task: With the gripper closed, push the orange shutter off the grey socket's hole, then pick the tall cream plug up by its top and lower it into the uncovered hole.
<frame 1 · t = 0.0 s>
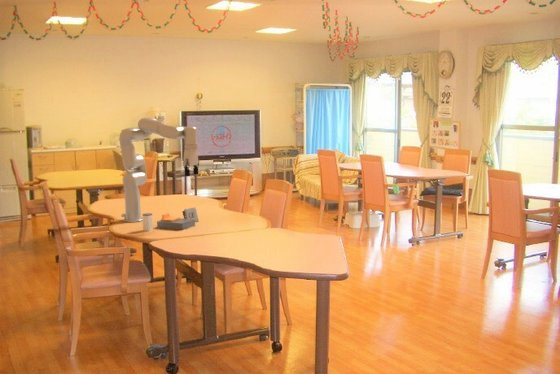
hand: (191, 175, 372), 31 cm above the table, tool pointing down, fingers open, 9 cm apart
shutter: (170, 217, 372), point 6 cm above the table, slide at 0.0 cm
plug: (148, 230, 362), on the table
socket housing: (176, 226, 371), on the table
electrical switch: (190, 222, 386), on the table
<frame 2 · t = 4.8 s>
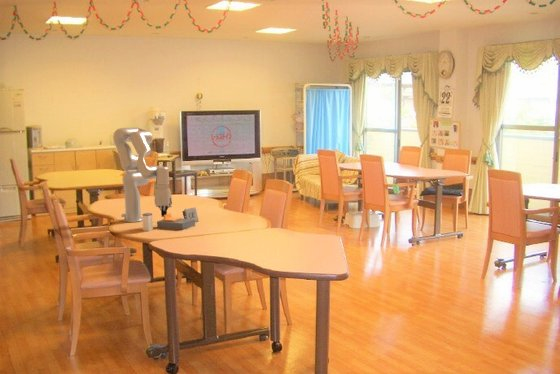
hand: (164, 216, 374), 6 cm above the table, tool pointing down, fingers closed
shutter: (172, 217, 372), point 6 cm above the table, slide at 1.2 cm, touching gripper
everything else where it was.
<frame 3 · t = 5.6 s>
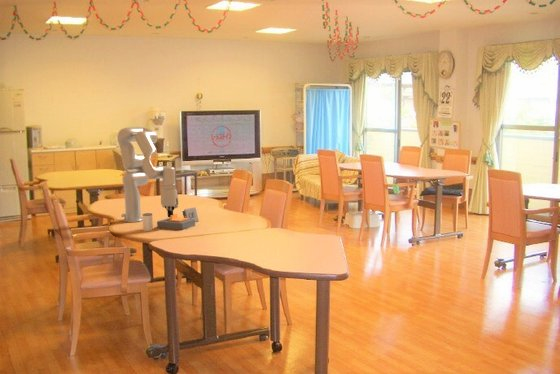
hand: (170, 216, 372), 6 cm above the table, tool pointing down, fingers closed
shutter: (178, 217, 370), point 6 cm above the table, slide at 5.8 cm, touching gripper
everything else where it was.
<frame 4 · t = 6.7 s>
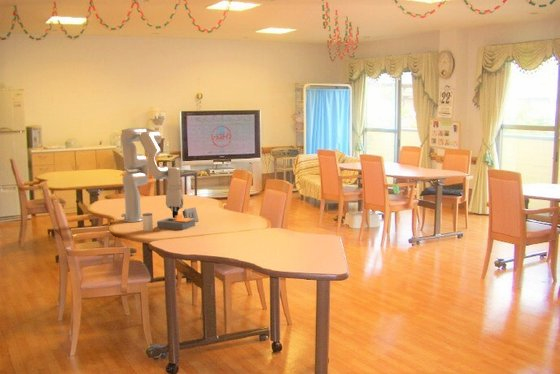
hand: (175, 217, 371), 6 cm above the table, tool pointing down, fingers closed
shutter: (183, 218, 368), point 6 cm above the table, slide at 9.3 cm, touching gripper
everything else where it was.
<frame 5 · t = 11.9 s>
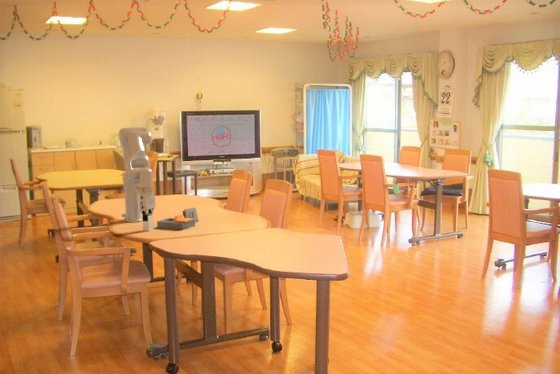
hand: (147, 220, 361), 6 cm above the table, tool pointing down, fingers closed on plug, 4 cm apart
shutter: (183, 218, 368), point 6 cm above the table, slide at 9.3 cm
plug: (148, 230, 362), on the table, touching gripper
everything else where it was.
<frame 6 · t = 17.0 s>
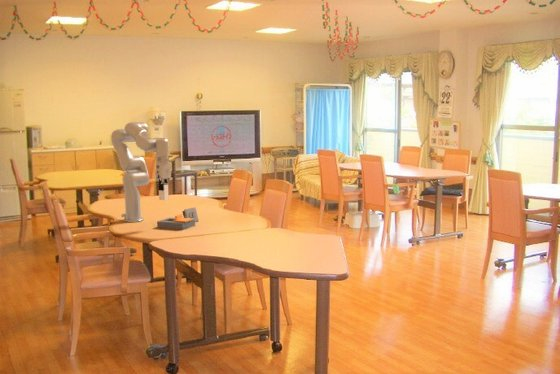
hand: (163, 189, 367), 23 cm above the table, tool pointing down, fingers closed on plug, 4 cm apart
plug: (163, 199, 368), point 17 cm above the table, touching gripper
everything else where it was.
when the fingers open (8 cm above the table, at t = 22.3 s): plug drops 2 cm, resting in socket housing.
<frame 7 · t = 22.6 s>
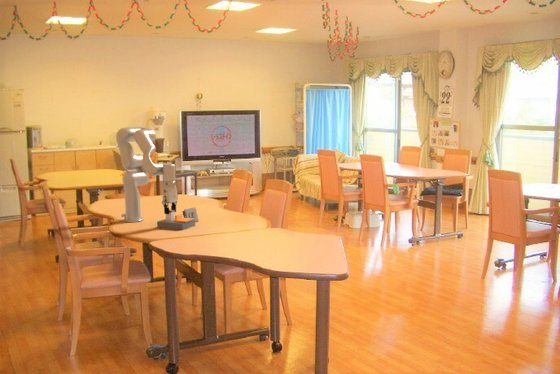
hand: (170, 212, 372), 8 cm above the table, tool pointing down, fingers open, 6 cm apart
plug: (170, 226, 373), resting in socket housing
everything else where it was.
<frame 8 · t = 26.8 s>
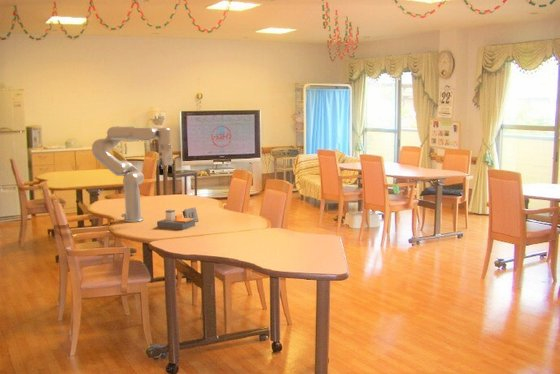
hand: (165, 174, 387), 30 cm above the table, tool pointing down, fingers open, 9 cm apart
nothing on the table moved.
at the end: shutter slide at 9.3 cm; plug 0.0 cm from the target spot on the socket housing, point 0.0 cm above the socket housing's base; plug tilted 0° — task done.
